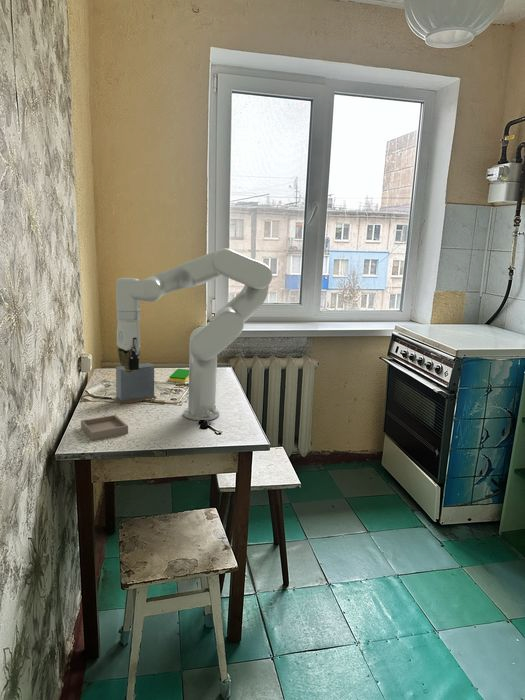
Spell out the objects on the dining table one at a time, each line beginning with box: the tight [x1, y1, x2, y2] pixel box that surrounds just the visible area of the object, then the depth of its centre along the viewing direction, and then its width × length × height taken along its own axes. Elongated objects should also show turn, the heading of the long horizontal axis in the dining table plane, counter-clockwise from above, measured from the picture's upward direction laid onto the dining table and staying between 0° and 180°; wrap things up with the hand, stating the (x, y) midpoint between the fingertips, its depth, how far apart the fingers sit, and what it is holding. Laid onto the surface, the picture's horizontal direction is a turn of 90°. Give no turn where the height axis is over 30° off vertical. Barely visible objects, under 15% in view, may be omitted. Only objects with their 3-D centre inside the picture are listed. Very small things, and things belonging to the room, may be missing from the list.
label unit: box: [114, 362, 157, 405], centre depth 182 cm, size 6×14×13 cm, turn 126°
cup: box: [117, 347, 141, 372], centre depth 164 cm, size 8×7×8 cm
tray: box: [80, 414, 129, 441], centre depth 153 cm, size 11×11×2 cm
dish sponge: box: [168, 368, 189, 383], centre depth 216 cm, size 7×14×2 cm, turn 174°
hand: (129, 366), depth 164 cm, fingers closed on cup, 7 cm apart
